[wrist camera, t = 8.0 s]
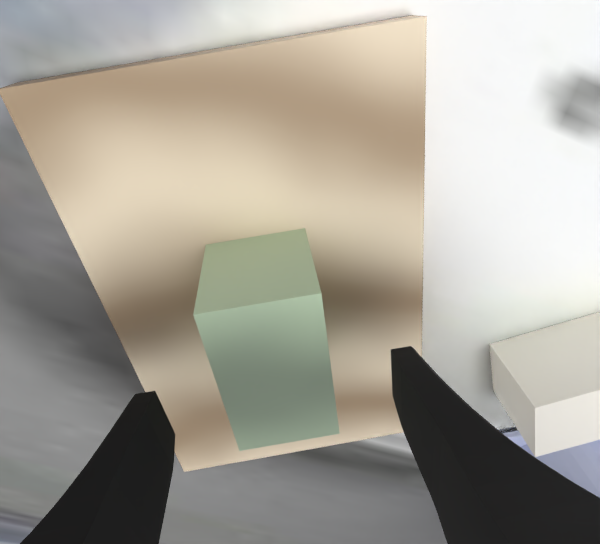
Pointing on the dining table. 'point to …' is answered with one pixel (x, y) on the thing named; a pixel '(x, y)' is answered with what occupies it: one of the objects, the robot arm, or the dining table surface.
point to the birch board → (246, 203)
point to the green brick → (267, 338)
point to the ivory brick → (551, 383)
